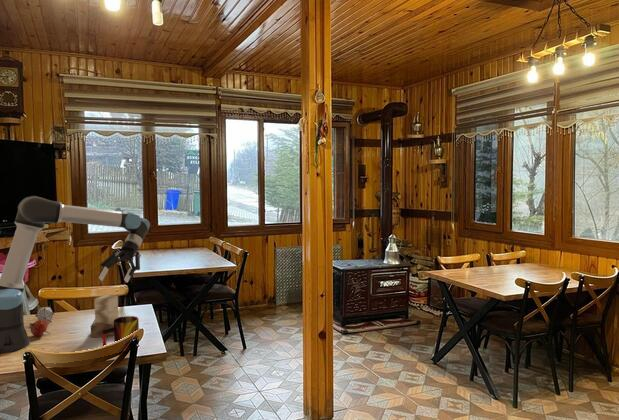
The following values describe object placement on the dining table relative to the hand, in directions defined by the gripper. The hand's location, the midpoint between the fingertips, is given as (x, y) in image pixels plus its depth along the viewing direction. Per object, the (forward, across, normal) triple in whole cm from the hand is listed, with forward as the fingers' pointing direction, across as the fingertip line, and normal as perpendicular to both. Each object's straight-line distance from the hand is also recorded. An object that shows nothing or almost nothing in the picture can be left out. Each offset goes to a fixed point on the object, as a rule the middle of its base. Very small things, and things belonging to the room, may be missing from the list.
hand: (112, 280), depth 218 cm
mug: (+33, -22, 0) cm, 40 cm away
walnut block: (+22, -2, -11) cm, 24 cm away
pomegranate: (+28, +26, -5) cm, 39 cm away
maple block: (+17, -2, -7) cm, 19 cm away
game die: (+16, +39, -17) cm, 45 cm away
